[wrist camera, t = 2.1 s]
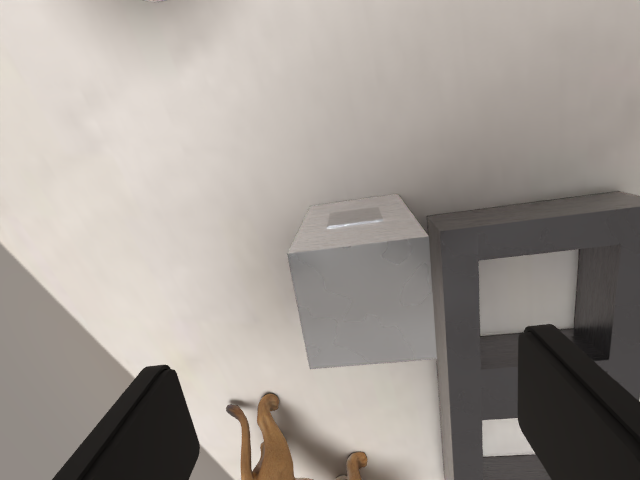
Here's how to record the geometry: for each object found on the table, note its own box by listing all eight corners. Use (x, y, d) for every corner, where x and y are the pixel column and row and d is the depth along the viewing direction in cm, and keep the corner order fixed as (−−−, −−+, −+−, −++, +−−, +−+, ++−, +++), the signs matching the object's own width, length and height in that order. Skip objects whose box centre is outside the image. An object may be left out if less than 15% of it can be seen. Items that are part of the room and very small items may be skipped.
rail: (618, 191, 19) (667, 202, 16) (590, 471, 24) (622, 516, 22) (426, 216, 20) (440, 231, 17) (444, 477, 26) (456, 520, 23)
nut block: (397, 192, 20) (428, 235, 12) (405, 275, 21) (437, 359, 13) (309, 204, 20) (286, 252, 13) (323, 284, 22) (310, 370, 14)
